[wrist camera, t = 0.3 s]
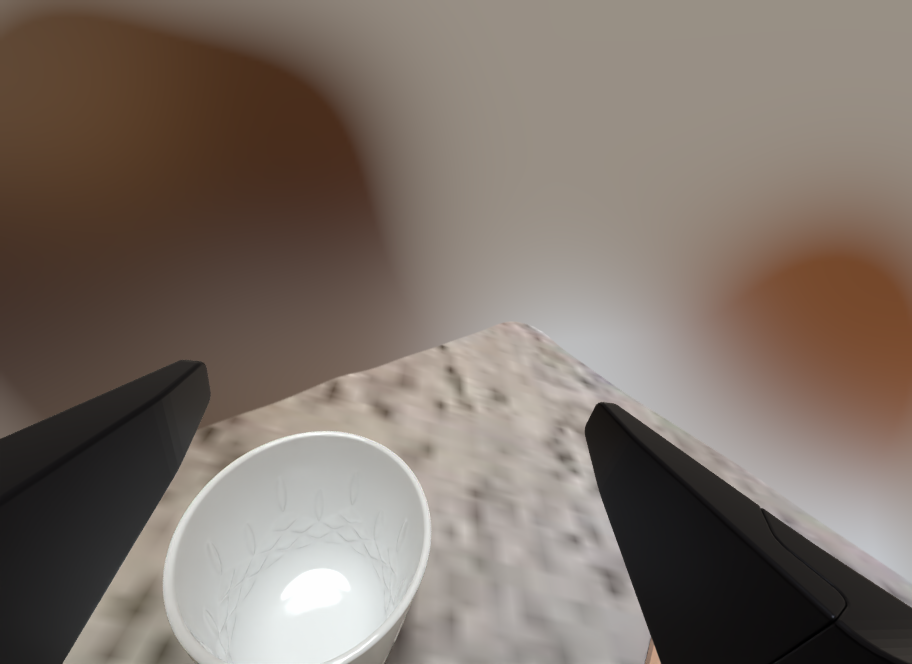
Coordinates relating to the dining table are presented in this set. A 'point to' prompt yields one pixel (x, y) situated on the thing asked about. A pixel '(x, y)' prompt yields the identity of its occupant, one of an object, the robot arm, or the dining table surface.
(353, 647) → the white cup
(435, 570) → the dining table surface
